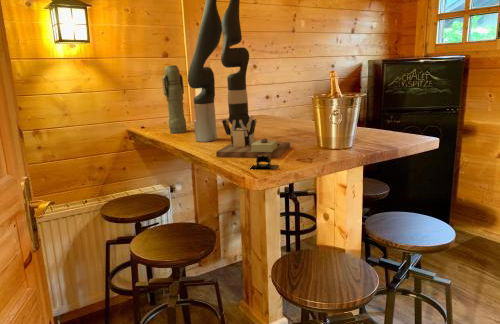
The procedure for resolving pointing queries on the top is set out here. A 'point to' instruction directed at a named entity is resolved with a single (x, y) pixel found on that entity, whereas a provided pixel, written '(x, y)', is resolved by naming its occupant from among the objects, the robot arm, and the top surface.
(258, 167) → the black stand
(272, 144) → the lid
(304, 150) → the top surface
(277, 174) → the top surface
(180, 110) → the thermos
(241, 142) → the cream block
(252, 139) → the skincare box
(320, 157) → the top surface
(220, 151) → the puzzle board
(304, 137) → the top surface
